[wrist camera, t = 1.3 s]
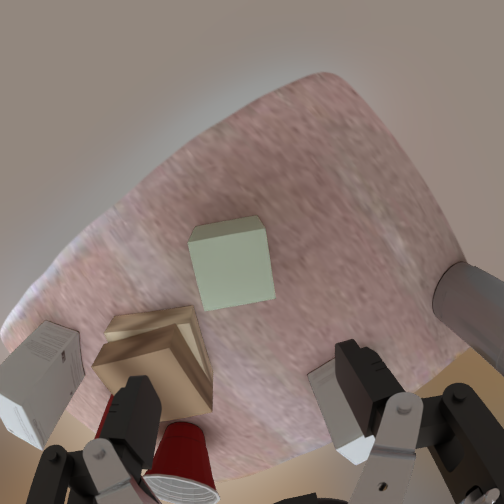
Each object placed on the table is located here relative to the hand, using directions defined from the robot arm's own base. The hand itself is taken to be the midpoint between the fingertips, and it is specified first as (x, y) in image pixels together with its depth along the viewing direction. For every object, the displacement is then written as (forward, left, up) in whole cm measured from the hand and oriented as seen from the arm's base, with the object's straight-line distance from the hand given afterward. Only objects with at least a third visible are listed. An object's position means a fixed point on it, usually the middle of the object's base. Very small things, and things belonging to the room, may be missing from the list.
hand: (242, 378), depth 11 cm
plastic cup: (+13, +27, -18) cm, 35 cm away
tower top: (+10, +10, -14) cm, 20 cm away
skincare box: (+25, +9, -18) cm, 32 cm away
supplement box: (-11, +20, -18) cm, 29 cm away
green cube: (0, 0, -18) cm, 18 cm away
